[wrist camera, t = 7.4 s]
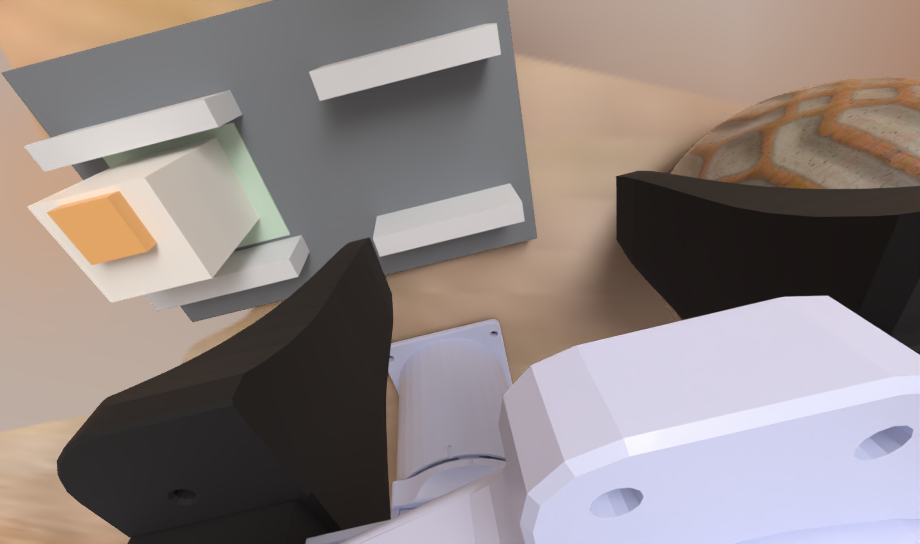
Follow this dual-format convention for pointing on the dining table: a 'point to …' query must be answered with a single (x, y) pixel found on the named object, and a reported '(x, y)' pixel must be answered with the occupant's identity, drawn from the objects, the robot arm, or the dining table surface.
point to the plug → (152, 220)
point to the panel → (312, 131)
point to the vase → (817, 140)
